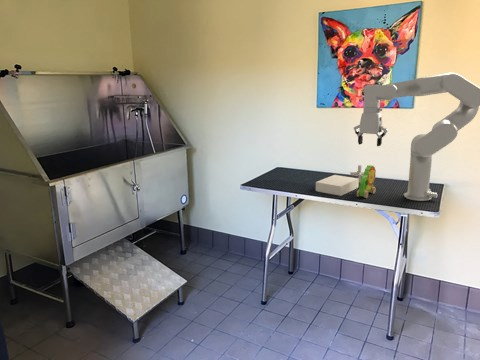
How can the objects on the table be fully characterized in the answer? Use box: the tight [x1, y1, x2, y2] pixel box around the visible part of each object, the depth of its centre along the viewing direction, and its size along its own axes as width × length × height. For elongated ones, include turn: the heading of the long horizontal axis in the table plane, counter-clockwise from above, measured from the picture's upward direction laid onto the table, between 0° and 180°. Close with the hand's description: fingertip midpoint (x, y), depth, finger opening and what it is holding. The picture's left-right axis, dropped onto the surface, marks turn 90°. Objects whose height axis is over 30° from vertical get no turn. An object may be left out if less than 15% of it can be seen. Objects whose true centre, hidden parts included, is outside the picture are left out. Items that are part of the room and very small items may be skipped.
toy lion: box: [356, 164, 377, 199], centre depth 204 cm, size 16×5×15 cm, turn 141°
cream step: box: [315, 174, 360, 197], centre depth 216 cm, size 15×20×5 cm
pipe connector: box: [349, 164, 364, 184], centre depth 228 cm, size 10×10×10 cm
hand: (369, 145), depth 200 cm, fingers open, 9 cm apart
